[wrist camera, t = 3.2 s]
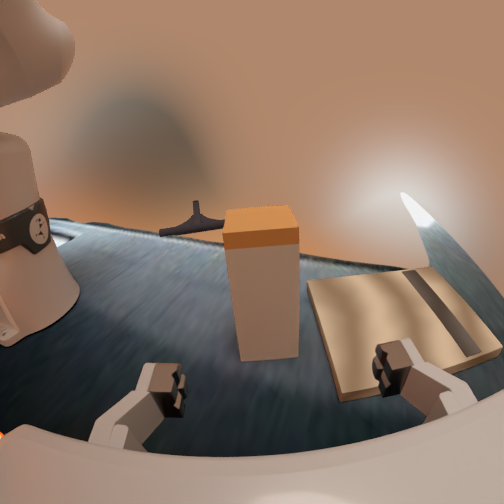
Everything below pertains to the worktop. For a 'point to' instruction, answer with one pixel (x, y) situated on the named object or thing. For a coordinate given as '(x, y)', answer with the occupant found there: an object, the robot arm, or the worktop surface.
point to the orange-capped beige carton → (264, 280)
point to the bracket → (194, 224)
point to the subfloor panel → (395, 324)
